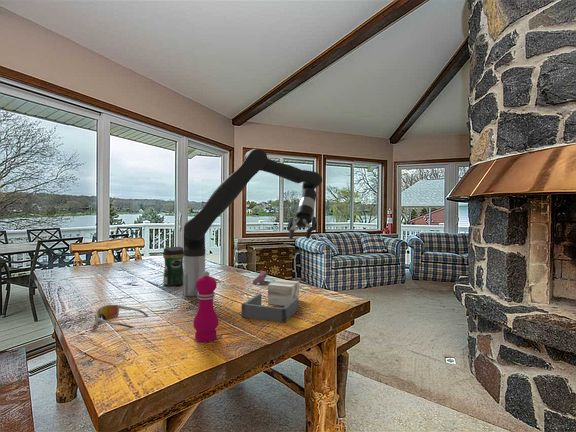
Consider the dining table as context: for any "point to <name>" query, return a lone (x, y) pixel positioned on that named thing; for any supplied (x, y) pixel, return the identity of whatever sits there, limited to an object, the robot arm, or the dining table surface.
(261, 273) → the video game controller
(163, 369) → the dining table surface
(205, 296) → the pepper mill
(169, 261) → the coffee jar
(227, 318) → the dining table surface
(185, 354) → the dining table surface
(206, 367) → the dining table surface
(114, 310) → the sunglasses
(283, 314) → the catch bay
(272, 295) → the cream block
